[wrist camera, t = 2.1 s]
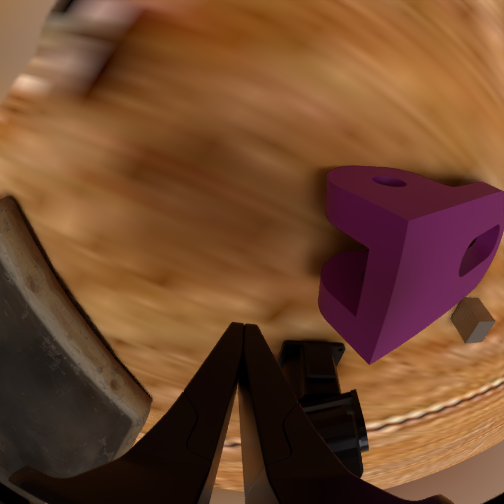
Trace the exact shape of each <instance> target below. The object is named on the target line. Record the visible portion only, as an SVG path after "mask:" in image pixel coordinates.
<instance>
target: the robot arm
mask: <svg viewBox="0 0 504 504" xmlns="http://www.w3.org/2000/svg"><path fill="white" fill-rule="evenodd" d="M344 351H345V346H344V344H335V343H314V342H297V341H285V342H284V343H283V345H282V348H281V351H280V355H279V358H278V361H276V359H275V357H274V356H273V354H272V352H271V350H270V348H269V346H268V344H267V342H266V341H265V339H264V337H263V335H262V333H261V331H260V329H259V327H258V326H257V325H256V324H245V325H244V324H243V323H237V322H232V323H231V324H230V325H229V327H228V328H227V329H226V331H225V332H224V334H223V335H222V337H221V338H220V340H219V341H218V342H217V344H216V345H215V347H214V348H213V350H212V351H211V352H210V354H209V355H208V357H207V358H206V360H205V361H204V362H203V364H202V365H201V367H200V368H199V369H198V371H197V372H196V374H195V375H194V377H193V378H192V379H191V381H190V382H189V384H188V385H187V386H186V388H185V389H184V392H182V393H181V395H180V396H179V397H178V399H177V400H176V401H175V403H174V404H173V405H172V407H171V408H170V409H169V410H168V412H167V413H166V414H165V415H164V416H163V417H162V418H161V419H160V420H159V421H158V422H157V423H156V424H155V425H154V426H153V427H152V428H151V429H150V430H149V431H148V432H147V433H146V434H145V435H144V436H143V437H142V438H141V439H140V440H139V441H138V442H137V443H136V444H135V445H134V446H133V447H132V448H131V449H130V450H129V451H127V452H126V453H125V454H124V455H122V456H121V457H119V458H117V459H115V460H113V461H111V462H108V463H106V464H103V465H101V466H99V467H96V468H94V469H91V470H89V471H86V472H83V473H81V474H78V475H75V476H72V477H69V478H56V477H52V476H49V475H47V474H45V473H43V472H41V471H39V470H37V469H35V468H33V467H31V466H28V465H26V466H24V467H22V468H21V469H19V470H17V471H16V472H14V473H13V474H12V475H11V476H10V477H9V478H8V481H9V482H11V483H12V484H14V485H15V486H17V487H18V488H20V489H22V490H23V491H25V492H27V493H28V494H30V495H32V496H34V497H36V498H37V499H39V500H41V501H43V502H45V504H209V503H210V499H211V494H212V490H213V487H214V483H215V478H216V474H217V470H218V466H219V462H220V458H221V454H222V450H223V446H224V441H225V437H226V433H227V429H228V425H229V420H230V416H231V412H232V408H233V403H234V399H235V395H236V390H237V385H238V398H239V416H240V433H241V449H242V464H243V478H244V492H245V504H454V503H453V502H452V501H451V500H449V499H448V498H446V497H445V496H443V495H441V494H439V495H435V496H431V497H429V498H426V499H423V500H419V501H409V500H404V499H402V498H399V497H397V496H394V495H392V494H390V493H388V492H386V491H384V490H382V489H380V488H378V487H376V486H374V485H372V484H370V483H368V482H366V481H364V480H362V479H360V478H361V476H362V474H363V464H362V457H361V453H362V452H365V451H369V446H368V438H367V432H366V427H365V422H364V418H363V414H362V410H361V406H360V403H359V399H358V395H357V392H356V389H355V390H351V391H350V392H347V393H343V394H341V389H340V384H339V379H338V374H337V370H336V367H337V365H338V363H339V361H340V359H341V357H342V355H343V353H344ZM0 504H35V503H33V502H32V501H30V500H28V499H26V498H25V497H23V496H21V495H20V494H18V493H17V492H15V491H13V490H12V489H10V488H9V487H7V486H6V485H4V484H3V483H1V482H0ZM482 504H504V492H503V493H501V494H499V495H497V496H496V497H494V498H492V499H490V500H488V501H486V502H484V503H482Z"/></svg>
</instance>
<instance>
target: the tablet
mask: <svg viewBox="0 0 504 504" xmlns="http://www.w3.org/2000/svg"><path fill="white" fill-rule="evenodd" d="M151 402H152V399H151V398H150V397H149V396H148V395H147V394H146V393H145V392H144V391H143V390H142V389H141V388H140V387H139V386H138V385H137V383H136V382H135V381H134V380H133V379H132V378H131V377H130V376H129V374H128V373H127V372H126V371H125V370H124V368H123V367H122V366H121V365H120V364H119V363H118V362H117V360H116V359H115V358H114V357H113V356H112V354H111V353H110V352H109V351H108V349H107V348H106V347H105V346H104V345H103V343H102V342H101V341H100V339H99V338H98V337H97V336H96V334H95V333H94V332H93V330H92V329H91V328H90V327H89V325H88V324H87V323H86V321H85V320H84V318H83V317H82V316H81V314H80V313H79V312H78V310H77V309H76V308H75V306H74V305H73V304H72V302H71V301H70V299H69V298H68V296H67V295H66V293H65V292H64V290H63V289H62V287H61V286H60V284H59V282H58V281H57V279H56V277H55V275H54V274H53V272H52V271H51V269H50V268H49V266H48V264H47V263H46V261H45V259H44V257H43V256H42V254H41V252H40V250H39V248H38V247H37V245H36V243H35V242H34V240H33V238H32V236H31V234H30V232H29V230H28V228H27V226H26V224H25V222H24V220H23V218H22V215H21V213H20V211H19V209H18V207H17V205H16V204H15V202H14V201H13V200H12V199H11V198H9V197H5V198H4V199H2V200H0V482H1V483H3V484H4V485H6V486H7V487H9V488H10V489H12V490H13V491H15V492H17V493H18V494H20V495H21V496H23V497H25V498H26V499H28V500H30V501H32V502H33V503H35V504H45V502H43V501H41V500H39V499H37V498H36V497H34V496H32V495H30V494H28V493H27V492H25V491H23V490H22V489H20V488H18V487H17V486H15V485H14V484H12V483H11V482H9V481H8V478H9V477H10V476H11V475H12V474H13V473H14V472H16V471H17V470H19V469H21V468H22V467H24V466H26V465H28V466H31V467H33V468H35V469H37V470H39V471H41V472H43V473H45V474H47V475H49V476H52V477H56V478H69V477H72V476H75V475H78V474H81V473H83V472H86V471H89V470H91V469H94V468H96V467H99V466H101V465H103V464H106V463H108V462H111V461H113V460H115V459H117V458H119V457H121V456H122V455H124V454H125V453H126V452H127V451H129V450H130V449H131V447H132V446H133V444H134V442H135V440H136V438H137V436H138V434H139V433H140V431H141V430H142V428H143V426H144V424H145V422H146V420H147V418H148V415H149V412H150V406H151Z"/></svg>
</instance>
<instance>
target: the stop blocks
mask: <svg viewBox="0 0 504 504" xmlns="http://www.w3.org/2000/svg"><path fill="white" fill-rule="evenodd" d="M450 319H451V321H452V322H453V324H454V325H455V327H456V329H457V330H458V332H459V334H460V335H461V337H462V339H463V340H464V342H465V343H476V342H482V341H483V339H484V338H485V336H486V335H487V334H488V332H489V331H490V329H491V328H492V326H493V324H494V323H495V320H494V319H493V317H492V316H491V314H490V313H489V312H488V310H487V309H486V308H485V306H484V305H483V303H482V302H481V301H480V300H479V298H463V299H462V300H461V301H460V303H459V304H458V306H457V308H456V310H455V311H454V313H453V315H452V317H451V318H450Z"/></svg>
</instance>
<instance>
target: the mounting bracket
mask: <svg viewBox="0 0 504 504" xmlns="http://www.w3.org/2000/svg"><path fill="white" fill-rule="evenodd" d="M325 213H326V217H327V219H328V220H329V222H330V223H331V224H332V225H334V226H335V227H336V228H338V229H339V230H341V231H342V232H344V233H345V234H347V235H349V236H350V237H352V238H353V239H355V240H357V241H358V242H360V243H361V244H363V245H364V246H366V247H367V248H369V251H355V252H343V253H340V254H337V255H335V256H333V257H331V258H330V259H329V260H327V261H326V263H325V264H324V265H323V267H322V270H321V277H320V287H319V297H318V305H319V309H320V312H321V314H322V315H323V317H324V318H325V320H326V321H327V322H328V323H329V324H330V325H331V326H332V327H333V328H334V329H335V330H336V331H337V332H338V333H339V334H340V335H341V336H342V337H343V338H344V339H345V340H346V341H347V342H348V344H349V345H350V346H351V347H352V348H353V349H354V350H355V351H356V352H357V353H358V354H359V355H360V356H361V357H362V358H363V359H364V360H365V361H366V362H367V363H368V364H369V365H370V364H372V363H373V362H375V361H377V360H378V359H380V358H381V357H383V356H385V355H386V354H388V353H389V352H391V351H392V350H394V349H395V348H397V347H399V346H400V345H402V344H403V343H404V342H406V341H407V340H409V339H410V338H412V337H413V336H415V335H416V334H418V333H419V332H420V331H422V330H423V329H425V328H426V327H427V326H429V325H430V324H431V323H433V322H434V321H435V320H437V319H438V318H439V317H441V316H442V315H443V314H444V313H446V312H447V311H448V310H450V309H451V308H452V307H453V306H455V305H456V304H457V303H458V302H459V301H461V300H462V299H463V298H464V297H465V296H467V295H468V294H469V293H470V292H471V291H472V290H473V289H474V288H475V287H476V286H477V285H478V283H479V282H480V281H481V279H482V278H483V276H484V275H485V273H486V272H487V270H488V268H489V266H490V264H491V262H492V260H493V258H494V256H495V254H496V252H497V249H498V247H499V244H500V241H501V238H502V235H503V231H504V191H502V190H500V189H498V188H495V187H493V186H491V185H489V184H486V183H484V182H477V183H472V184H468V185H463V186H458V187H451V186H447V185H443V184H441V183H438V182H436V181H433V180H431V179H428V178H426V177H423V176H420V175H418V174H414V173H411V172H407V171H403V170H399V169H394V168H388V167H373V166H345V167H339V168H336V169H333V170H331V171H330V172H329V173H328V174H327V191H326V211H325ZM476 237H477V239H476V241H475V243H474V244H473V245H472V246H471V247H470V248H468V246H469V245H470V243H471V242H472V241H473V240H474V239H475V238H476ZM467 248H468V249H467Z"/></svg>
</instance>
